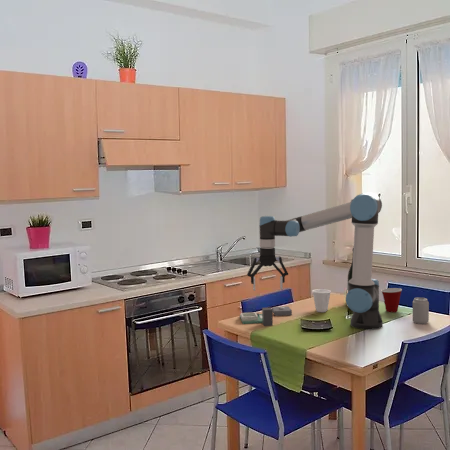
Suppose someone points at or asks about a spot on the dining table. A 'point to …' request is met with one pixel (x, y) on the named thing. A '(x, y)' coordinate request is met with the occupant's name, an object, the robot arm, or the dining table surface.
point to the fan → (281, 311)
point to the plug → (267, 317)
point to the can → (420, 310)
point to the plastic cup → (391, 299)
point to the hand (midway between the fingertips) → (267, 289)
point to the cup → (321, 299)
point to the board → (251, 318)
